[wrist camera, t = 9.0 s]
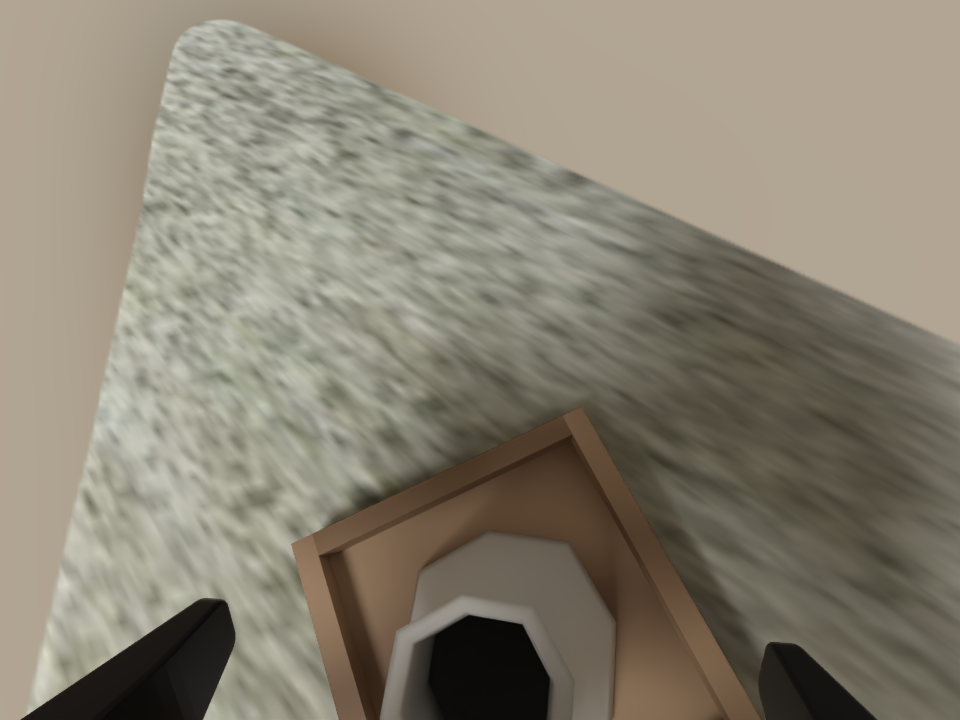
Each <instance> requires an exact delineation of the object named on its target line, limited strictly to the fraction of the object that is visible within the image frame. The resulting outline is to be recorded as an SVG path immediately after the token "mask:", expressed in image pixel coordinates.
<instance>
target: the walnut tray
mask: <svg viewBox="0 0 960 720" xmlns="http://www.w3.org/2000/svg"><path fill="white" fill-rule="evenodd" d="M488 530H494V531H500V532H507V533H514V534H521V535H527V536H534V537H541V538H548V539H554V540H561V541H568V542H570V543H571V545H572V547H573V549H574V550H575V552H576V554H577V555H578V557H579V559H580V561H581V562H582V564H583V566H584V567H585V569H586V571H587V573H588V574H589V576H590V578H591V579H592V581H593V583H594V585H595V586H596V588H597V590H598V591H599V593H600V595H601V597H602V598H603V600H604V602H605V603H606V605H607V607H608V609H609V610H610V612H611V614H612V615H613V617H614V619H615V621H616V622H617V623H616V646H615V670H614V694H613V717H612V720H761V718H760V717H759V715H758V713H757V711H756V710H755V708H754V706H753V705H752V703H751V701H750V699H749V698H748V696H747V694H746V692H745V691H744V689H743V687H742V685H741V684H740V682H739V680H738V678H737V677H736V675H735V673H734V671H733V670H732V668H731V666H730V664H729V663H728V661H727V659H726V657H725V656H724V654H723V652H722V650H721V649H720V647H719V645H718V644H717V642H716V640H715V638H714V637H713V635H712V633H711V631H710V630H709V628H708V626H707V624H706V623H705V621H704V619H703V617H702V616H701V614H700V612H699V610H698V609H697V607H696V605H695V603H694V602H693V600H692V598H691V596H690V595H689V593H688V591H687V590H686V588H685V586H684V584H683V583H682V581H681V579H680V577H679V576H678V574H677V572H676V570H675V569H674V567H673V565H672V563H671V562H670V560H669V558H668V556H667V555H666V553H665V551H664V549H663V548H662V546H661V544H660V542H659V541H658V539H657V537H656V536H655V534H654V532H653V530H652V529H651V527H650V525H649V523H648V522H647V520H646V518H645V516H644V515H643V513H642V511H641V509H640V508H639V506H638V504H637V502H636V501H635V499H634V497H633V495H632V494H631V492H630V490H629V488H628V487H627V485H626V483H625V481H624V480H623V478H622V476H621V475H620V473H619V471H618V469H617V468H616V466H615V464H614V462H613V461H612V459H611V457H610V455H609V454H608V452H607V450H606V448H605V447H604V445H603V443H602V441H601V440H600V438H599V436H598V434H597V433H596V431H595V429H594V427H593V426H592V424H591V422H590V421H589V419H588V417H587V415H586V414H585V412H584V410H583V408H582V407H579V408H577V409H575V410H573V411H571V412H569V413H567V414H564V415H562V416H560V417H558V418H556V419H554V420H552V421H550V422H548V423H545V424H543V425H541V426H539V427H537V428H535V429H533V430H531V431H529V432H526V433H524V434H522V435H520V436H518V437H516V438H514V439H512V440H510V441H507V442H505V443H503V444H501V445H499V446H497V447H495V448H493V449H491V450H488V451H486V452H484V453H482V454H480V455H478V456H476V457H474V458H472V459H469V460H467V461H465V462H463V463H461V464H459V465H457V466H455V467H453V468H450V469H448V470H446V471H444V472H442V473H440V474H438V475H436V476H434V477H431V478H429V479H427V480H425V481H423V482H421V483H419V484H417V485H415V486H412V487H410V488H408V489H406V490H404V491H402V492H400V493H398V494H396V495H393V496H391V497H389V498H387V499H385V500H383V501H381V502H379V503H377V504H374V505H372V506H370V507H368V508H366V509H364V510H362V511H360V512H358V513H355V514H353V515H351V516H349V517H347V518H345V519H343V520H341V521H339V522H336V523H334V524H332V525H330V526H328V527H326V528H324V529H322V530H320V531H317V532H315V533H313V534H311V535H309V536H307V537H305V538H303V539H301V540H298V541H296V542H294V543H292V544H291V545H292V548H293V552H294V556H295V559H296V563H297V567H298V571H299V574H300V578H301V582H302V585H303V589H304V593H305V596H306V600H307V604H308V607H309V611H310V615H311V618H312V622H313V626H314V630H315V633H316V637H317V641H318V644H319V648H320V652H321V655H322V659H323V663H324V666H325V670H326V674H327V677H328V681H329V685H330V688H331V692H332V696H333V700H334V703H335V707H336V711H337V714H338V718H339V720H380V714H381V708H382V703H383V698H384V693H385V687H386V682H387V677H388V672H389V666H390V661H391V656H392V651H393V645H394V640H395V635H396V631H397V630H399V629H400V628H402V627H404V626H405V625H407V624H409V620H410V615H411V609H412V604H413V598H414V593H415V587H416V582H417V576H418V571H419V570H421V569H422V568H424V567H426V566H428V565H429V564H431V563H433V562H434V561H436V560H438V559H440V558H441V557H443V556H445V555H447V554H448V553H450V552H452V551H453V550H455V549H457V548H459V547H460V546H462V545H464V544H466V543H467V542H469V541H471V540H473V539H474V538H476V537H478V536H479V535H481V534H483V533H485V532H486V531H488Z"/></svg>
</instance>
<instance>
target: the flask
mask: <svg viewBox="0 0 960 720" xmlns="http://www.w3.org/2000/svg"><path fill="white" fill-rule="evenodd" d="M616 623H617V622H616V621H615V619H614V617H613V615H612V614H611V612H610V610H609V609H608V607H607V605H606V603H605V602H604V600H603V598H602V597H601V595H600V593H599V591H598V590H597V588H596V586H595V585H594V583H593V581H592V579H591V578H590V576H589V574H588V573H587V571H586V569H585V567H584V566H583V564H582V562H581V561H580V559H579V557H578V555H577V554H576V552H575V550H574V549H573V547H572V545H571V543H570V542H568V541H561V540H554V539H548V538H541V537H534V536H527V535H521V534H514V533H507V532H500V531H494V530H488V531H486V532H485V533H483V534H481V535H479V536H478V537H476V538H474V539H473V540H471V541H469V542H467V543H466V544H464V545H462V546H460V547H459V548H457V549H455V550H453V551H452V552H450V553H448V554H447V555H445V556H443V557H441V558H440V559H438V560H436V561H434V562H433V563H431V564H429V565H428V566H426V567H424V568H422V569H421V570H419V571H418V576H417V582H416V587H415V593H414V598H413V604H412V609H411V615H410V620H409V624H407V625H405V626H404V627H402V628H400V629H399V630H397V631H396V635H395V640H394V645H393V651H392V656H391V661H390V666H389V672H388V677H387V682H386V687H385V693H384V698H383V703H382V708H381V714H380V720H612V717H613V694H614V670H615V646H616Z"/></svg>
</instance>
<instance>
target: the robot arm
mask: <svg viewBox="0 0 960 720" xmlns="http://www.w3.org/2000/svg"><path fill="white" fill-rule="evenodd" d="M234 644H235V629H234V625H233V622H232V618H231V614H230V611H229V607H228V604H227V602H226V601H225V600H222V599H213V598H203V599H200V600H198V601H196V602H195V603H193V604H192V605H190V606H189V607H187V608H186V609H184V610H183V611H181V612H180V613H178V614H177V615H175V616H174V617H172V618H171V619H169V620H168V621H166V622H165V623H163V624H162V625H160V626H159V627H157V628H156V629H154V630H153V631H151V632H150V633H148V634H147V635H146V636H144V637H143V638H141V639H140V640H138V641H137V642H135V643H134V644H132V645H131V646H129V647H128V648H126V649H125V650H123V651H122V652H120V653H119V654H117V655H116V656H114V657H113V658H111V659H110V660H108V661H107V662H105V663H104V664H102V665H101V666H99V667H98V668H96V669H95V670H94V671H92V672H91V673H89V674H88V675H86V676H85V677H83V678H82V679H80V680H79V681H77V682H76V683H74V684H73V685H71V686H70V687H68V688H67V689H65V690H64V691H62V692H61V693H59V694H58V695H56V696H55V697H53V698H52V699H50V700H49V701H47V702H46V703H45V704H43V705H42V706H40V707H39V708H37V709H36V710H34V711H33V712H31V713H30V714H28V715H27V716H25V717H24V718H22V719H21V720H203V718H204V716H205V714H206V711H207V709H208V707H209V704H210V702H211V699H212V697H213V695H214V692H215V690H216V688H217V685H218V683H219V681H220V678H221V676H222V674H223V671H224V669H225V666H226V664H227V662H228V659H229V657H230V655H231V652H232V650H233V647H234ZM758 686H759V694H760V698H761V702H762V705H763V709H764V713H765V717H766V720H877V719H876V718H875V717H874V716H873V715H872V714H871V713H870V712H869V711H868V710H867V709H866V708H865V707H864V706H862V705H861V704H860V703H859V702H858V701H857V700H856V699H855V698H854V697H853V696H852V695H851V694H850V693H849V692H848V691H847V690H846V689H845V688H844V687H842V686H841V685H840V684H839V683H838V682H837V681H836V680H835V679H834V678H833V677H832V676H831V675H830V674H829V673H828V672H827V671H826V670H825V669H824V668H822V667H821V666H820V665H819V664H818V663H817V662H816V661H815V660H814V659H813V658H812V657H811V656H810V655H809V654H808V653H807V652H806V651H805V650H803V649H802V648H801V647H800V646H798V645H796V644H792V643H781V642H770V643H769V644H768V645H767V646H766V649H765V653H764V657H763V661H762V665H761V670H760V674H759V679H758Z"/></svg>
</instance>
